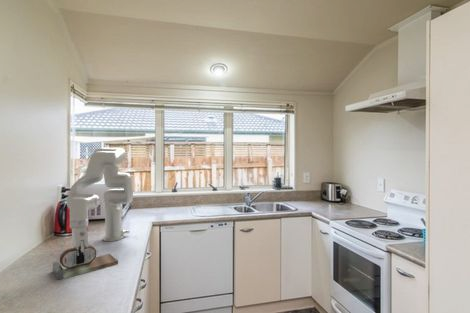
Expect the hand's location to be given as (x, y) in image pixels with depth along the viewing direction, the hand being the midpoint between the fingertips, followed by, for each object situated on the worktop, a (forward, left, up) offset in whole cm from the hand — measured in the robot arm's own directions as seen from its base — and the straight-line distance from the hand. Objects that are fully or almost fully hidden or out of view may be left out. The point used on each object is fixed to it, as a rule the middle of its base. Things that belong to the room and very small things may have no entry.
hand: (79, 261), depth 124 cm
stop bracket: (+9, 0, -3) cm, 9 cm away
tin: (0, 0, -2) cm, 2 cm away
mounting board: (-4, 0, -3) cm, 5 cm away
